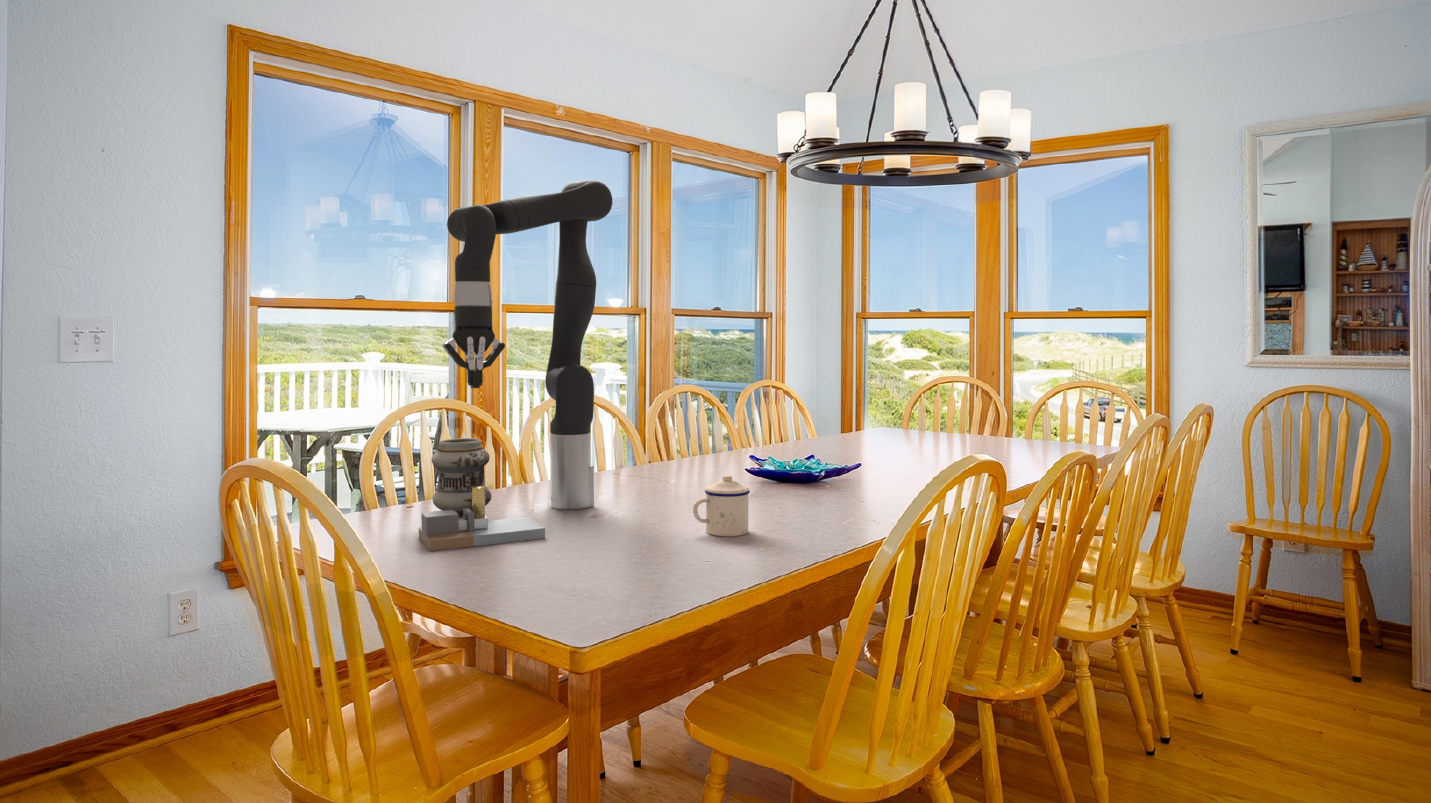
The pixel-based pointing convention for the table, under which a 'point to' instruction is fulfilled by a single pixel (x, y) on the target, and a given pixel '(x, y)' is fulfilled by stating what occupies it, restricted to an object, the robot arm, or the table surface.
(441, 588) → the table surface
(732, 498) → the teacup with lid
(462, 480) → the apothecary jar
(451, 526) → the door and jamb lock plate
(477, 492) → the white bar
